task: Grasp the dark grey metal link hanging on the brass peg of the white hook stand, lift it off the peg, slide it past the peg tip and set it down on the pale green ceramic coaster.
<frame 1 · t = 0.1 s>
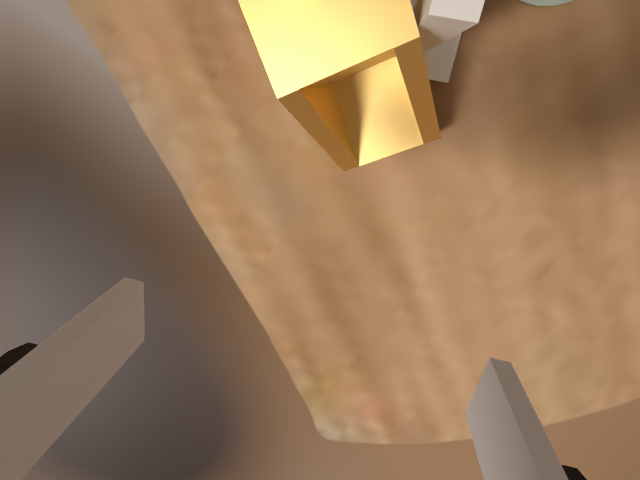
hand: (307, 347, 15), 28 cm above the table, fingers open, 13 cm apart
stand: (418, 34, 35), on the table
clamp: (358, 45, 36), on the table, touching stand
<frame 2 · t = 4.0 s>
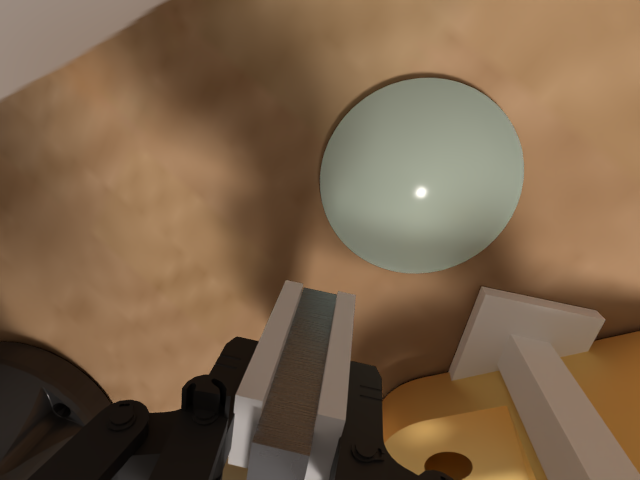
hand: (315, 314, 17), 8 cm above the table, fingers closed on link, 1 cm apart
link: (303, 377, 19), point 7 cm above the table, touching gripper, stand
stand: (517, 343, 25), on the table
coaster: (416, 182, 22), on the table
clamp: (515, 406, 27), on the table, touching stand
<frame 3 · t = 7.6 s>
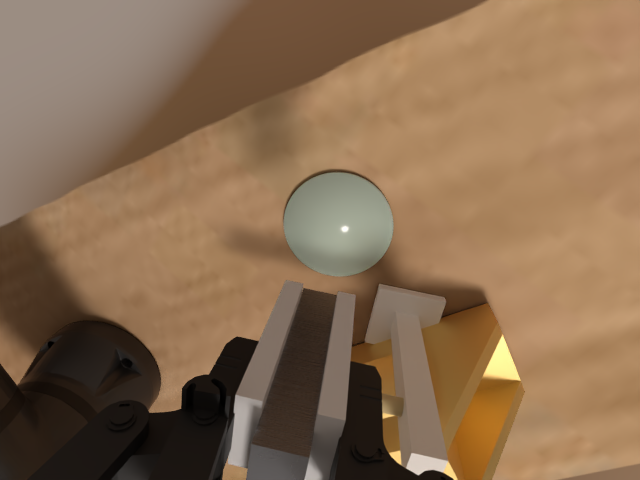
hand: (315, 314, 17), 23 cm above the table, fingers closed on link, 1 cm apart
link: (303, 378, 19), point 22 cm above the table, touching gripper
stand: (403, 317, 42), on the table
coaster: (337, 225, 39), on the table
clamp: (412, 361, 44), on the table, touching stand
when the fingers open (3 cm above the table, at t = 10.8 s): link drops 1 cm, resting on coaster.
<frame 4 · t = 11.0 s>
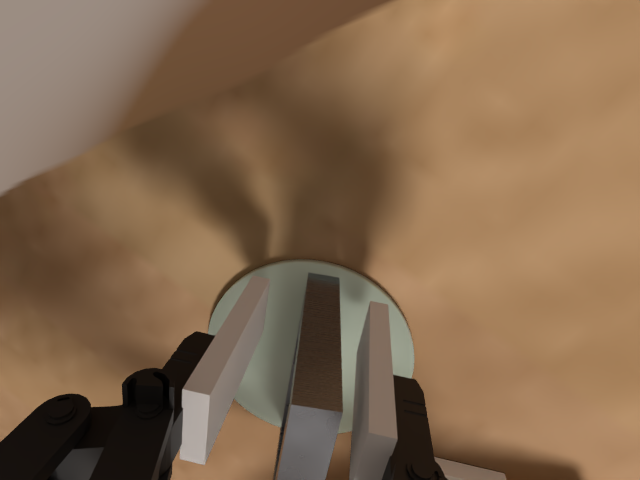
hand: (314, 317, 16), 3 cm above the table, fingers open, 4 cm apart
link: (307, 357, 20), point 1 cm above the table, tilted 5°, touching coaster
coaster: (309, 351, 21), on the table
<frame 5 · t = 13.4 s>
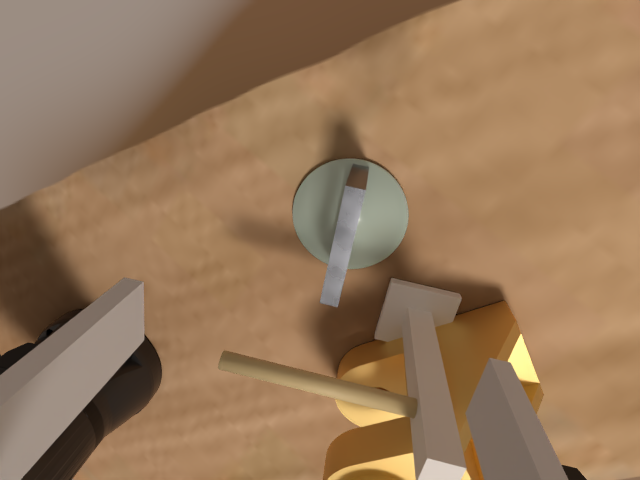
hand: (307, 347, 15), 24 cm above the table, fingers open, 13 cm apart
link: (349, 216, 37), resting on coaster
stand: (415, 314, 40), on the table
coaster: (349, 215, 37), on the table
clamp: (423, 361, 42), on the table, touching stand
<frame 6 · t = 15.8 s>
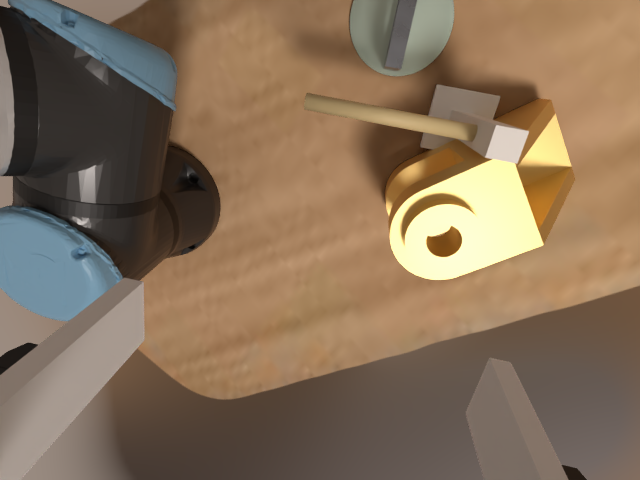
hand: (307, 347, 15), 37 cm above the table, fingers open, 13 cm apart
link: (400, 20, 41), resting on coaster
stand: (457, 121, 45), on the table
coaster: (400, 21, 42), on the table
clamp: (464, 174, 47), on the table, touching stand
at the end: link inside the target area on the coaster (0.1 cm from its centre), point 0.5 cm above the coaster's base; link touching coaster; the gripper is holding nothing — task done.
